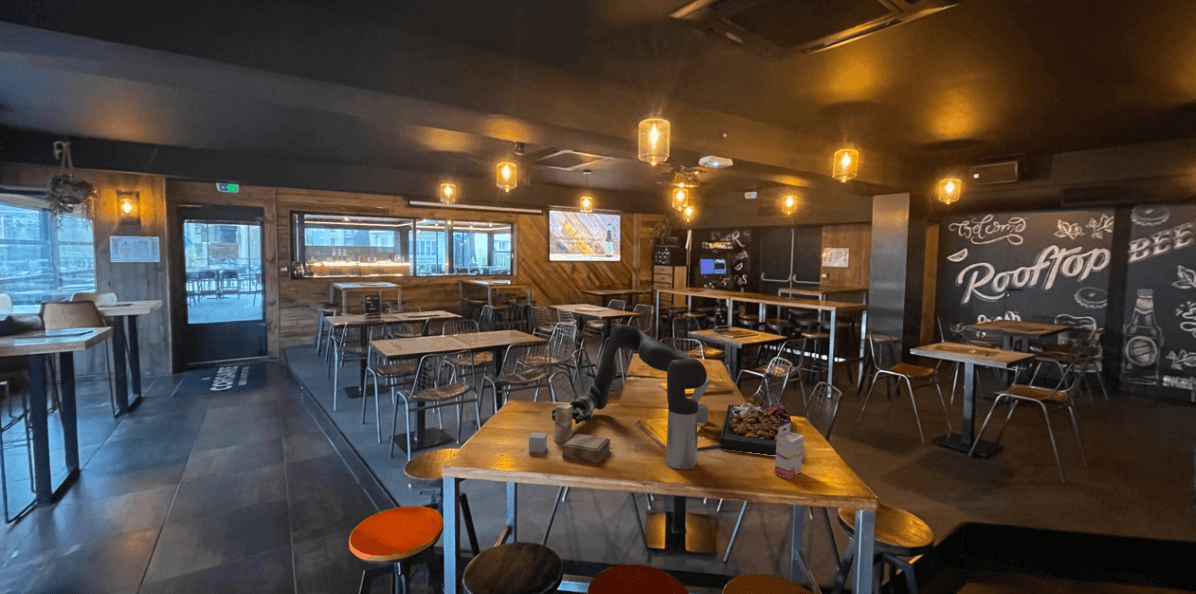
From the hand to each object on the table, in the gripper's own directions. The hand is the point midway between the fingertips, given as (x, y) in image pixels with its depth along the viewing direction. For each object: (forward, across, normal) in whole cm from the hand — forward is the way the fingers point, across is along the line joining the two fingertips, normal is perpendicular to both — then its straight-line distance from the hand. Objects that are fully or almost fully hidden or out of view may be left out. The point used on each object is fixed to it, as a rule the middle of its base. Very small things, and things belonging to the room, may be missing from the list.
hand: (564, 419), depth 181 cm
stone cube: (+13, -4, +7) cm, 15 cm away
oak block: (+1, 0, +7) cm, 7 cm away
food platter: (-36, +64, +8) cm, 73 cm away
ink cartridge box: (0, +74, +7) cm, 74 cm away
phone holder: (-36, +39, +7) cm, 54 cm away
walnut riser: (+10, +12, +7) cm, 17 cm away
